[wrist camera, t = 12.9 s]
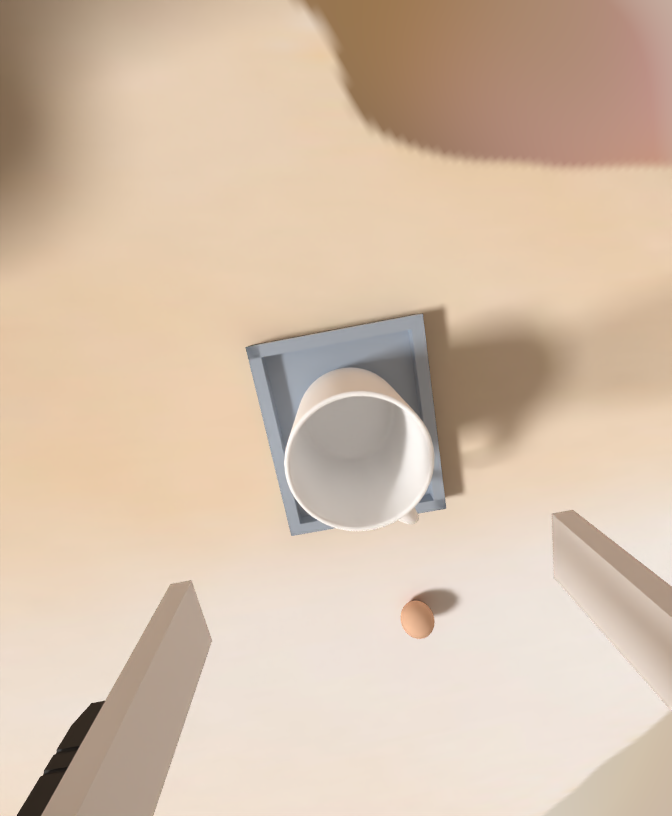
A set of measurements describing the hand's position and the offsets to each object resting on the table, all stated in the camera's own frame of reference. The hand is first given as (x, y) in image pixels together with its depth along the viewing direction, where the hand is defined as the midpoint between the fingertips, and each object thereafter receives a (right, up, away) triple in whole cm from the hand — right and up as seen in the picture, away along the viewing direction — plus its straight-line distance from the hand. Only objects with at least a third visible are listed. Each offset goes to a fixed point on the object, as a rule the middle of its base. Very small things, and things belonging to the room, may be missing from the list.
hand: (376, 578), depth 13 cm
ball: (+6, -14, +24) cm, 28 cm away
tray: (0, +4, +19) cm, 19 cm away
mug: (+1, +4, +18) cm, 19 cm away
